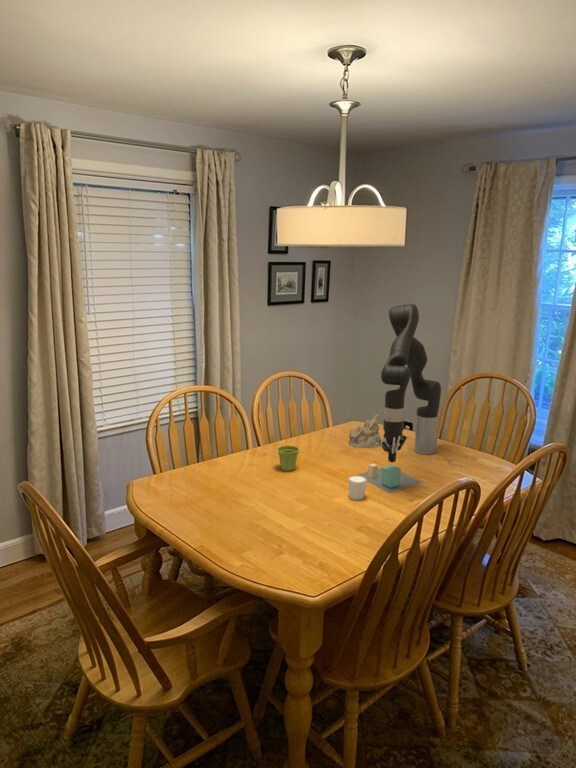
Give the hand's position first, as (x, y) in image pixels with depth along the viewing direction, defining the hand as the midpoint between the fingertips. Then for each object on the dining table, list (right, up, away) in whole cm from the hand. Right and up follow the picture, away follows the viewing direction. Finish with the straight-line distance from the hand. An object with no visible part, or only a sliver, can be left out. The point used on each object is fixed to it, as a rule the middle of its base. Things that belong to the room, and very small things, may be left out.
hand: (391, 461), depth 214 cm
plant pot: (-40, -6, +21) cm, 45 cm away
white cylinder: (-14, -12, -5) cm, 20 cm away
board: (0, -9, +9) cm, 12 cm away
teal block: (0, -9, +2) cm, 9 cm away
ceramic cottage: (-3, +1, +54) cm, 54 cm away
